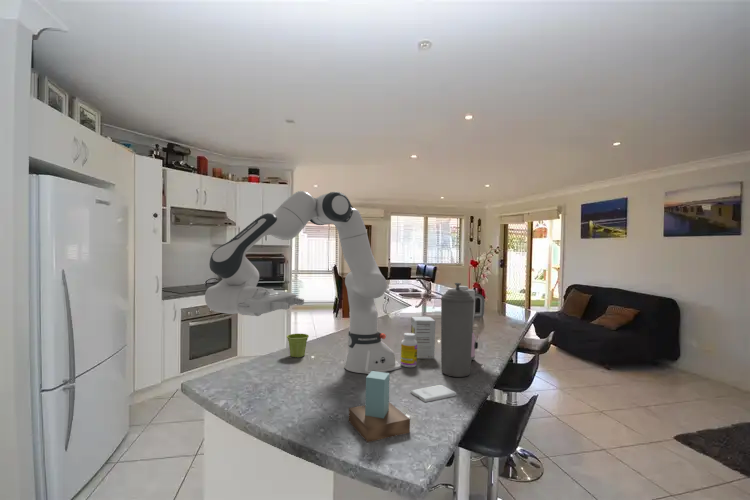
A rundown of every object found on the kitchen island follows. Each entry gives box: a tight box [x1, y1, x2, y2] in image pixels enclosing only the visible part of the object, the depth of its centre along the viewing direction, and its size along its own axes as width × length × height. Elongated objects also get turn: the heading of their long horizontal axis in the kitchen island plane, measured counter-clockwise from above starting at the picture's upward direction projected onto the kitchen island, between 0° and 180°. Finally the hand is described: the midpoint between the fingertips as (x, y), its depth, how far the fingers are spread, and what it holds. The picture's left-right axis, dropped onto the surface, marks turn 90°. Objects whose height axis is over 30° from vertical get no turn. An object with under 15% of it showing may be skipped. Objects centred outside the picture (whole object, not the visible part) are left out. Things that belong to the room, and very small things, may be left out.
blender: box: [447, 285, 485, 361], centre depth 159 cm, size 16×12×32 cm
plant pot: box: [286, 333, 309, 358], centre depth 158 cm, size 9×9×9 cm
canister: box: [440, 282, 474, 378], centre depth 141 cm, size 13×13×35 cm
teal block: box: [364, 371, 390, 419], centre depth 96 cm, size 5×5×10 cm
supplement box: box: [410, 316, 436, 359], centre depth 164 cm, size 10×9×17 cm
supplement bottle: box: [400, 332, 418, 368], centre depth 149 cm, size 7×7×13 cm
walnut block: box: [348, 401, 411, 443], centre depth 96 cm, size 12×12×4 cm
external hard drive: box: [409, 384, 457, 403], centre depth 119 cm, size 2×8×12 cm
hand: (296, 303), depth 108 cm, fingers open, 8 cm apart
